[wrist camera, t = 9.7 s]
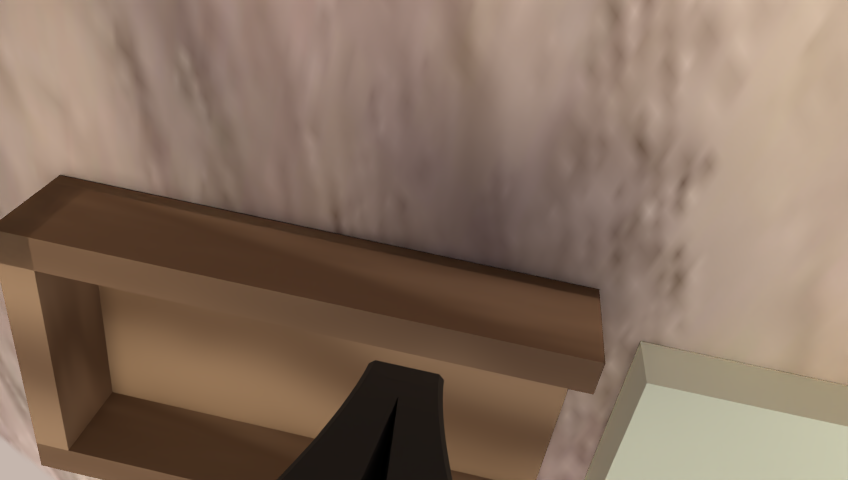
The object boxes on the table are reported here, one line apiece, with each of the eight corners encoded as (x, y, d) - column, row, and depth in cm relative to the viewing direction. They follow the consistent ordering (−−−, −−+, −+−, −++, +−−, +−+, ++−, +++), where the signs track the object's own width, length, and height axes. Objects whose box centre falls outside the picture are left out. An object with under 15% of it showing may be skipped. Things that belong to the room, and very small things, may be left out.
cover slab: (792, 517, 27) (811, 575, 25) (583, 470, 27) (586, 523, 25) (883, 385, 23) (914, 440, 21) (639, 333, 24) (646, 383, 22)
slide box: (526, 497, 28) (522, 579, 25) (93, 398, 29) (41, 465, 26) (599, 289, 22) (605, 363, 20) (60, 175, 23) (-12, 228, 21)
